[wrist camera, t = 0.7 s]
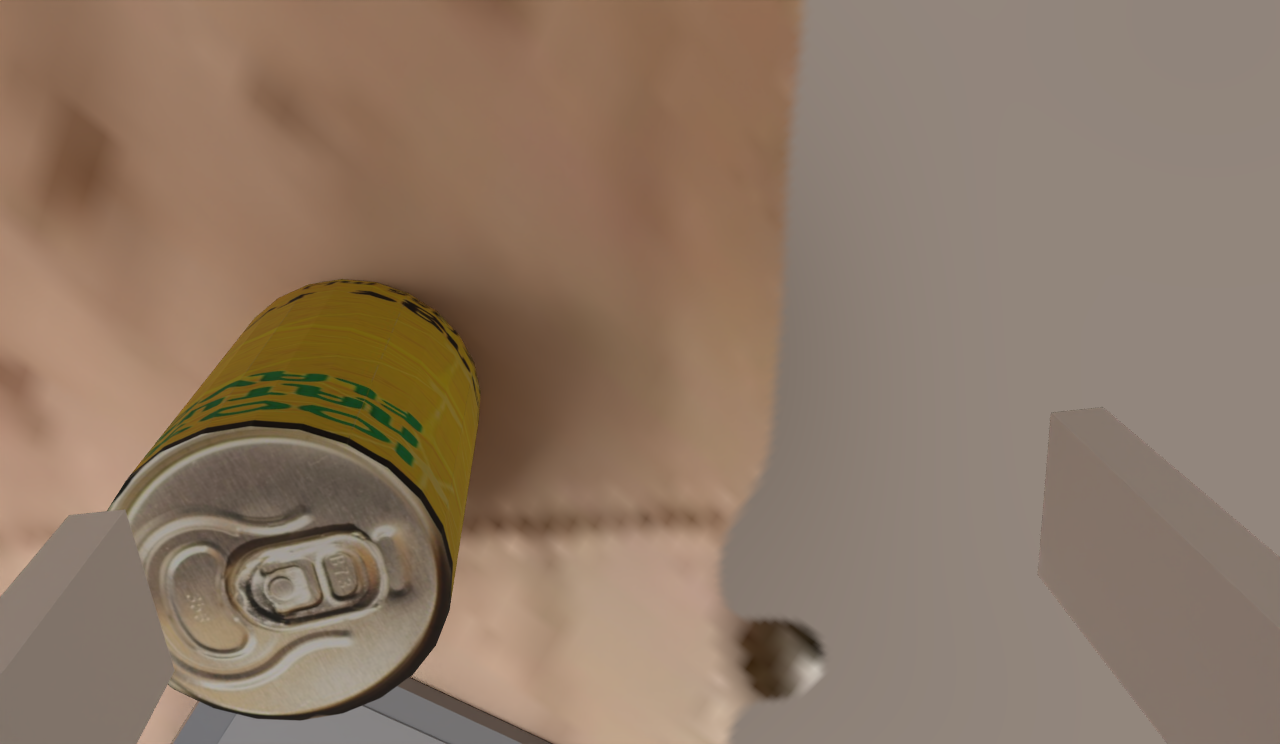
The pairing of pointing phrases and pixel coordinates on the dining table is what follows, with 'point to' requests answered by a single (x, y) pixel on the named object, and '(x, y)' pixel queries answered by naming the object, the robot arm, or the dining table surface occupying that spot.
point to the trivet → (362, 724)
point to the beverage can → (311, 504)
